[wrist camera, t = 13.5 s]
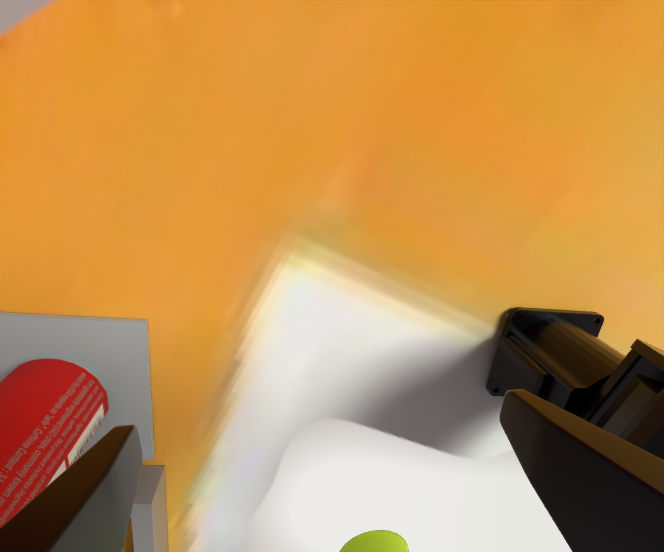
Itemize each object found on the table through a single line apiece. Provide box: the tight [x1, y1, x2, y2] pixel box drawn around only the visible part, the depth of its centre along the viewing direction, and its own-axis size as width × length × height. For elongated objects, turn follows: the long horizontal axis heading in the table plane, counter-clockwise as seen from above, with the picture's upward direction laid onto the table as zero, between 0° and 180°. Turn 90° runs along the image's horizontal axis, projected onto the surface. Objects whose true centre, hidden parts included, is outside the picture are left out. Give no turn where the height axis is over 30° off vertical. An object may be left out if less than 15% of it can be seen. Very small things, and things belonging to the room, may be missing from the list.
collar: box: [130, 466, 168, 552], centre depth 25 cm, size 10×10×3 cm
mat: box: [0, 312, 155, 460], centre depth 22 cm, size 10×10×1 cm
